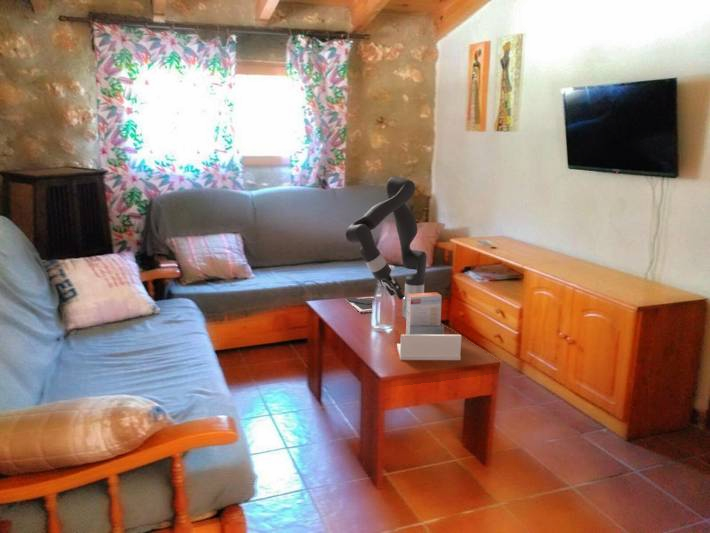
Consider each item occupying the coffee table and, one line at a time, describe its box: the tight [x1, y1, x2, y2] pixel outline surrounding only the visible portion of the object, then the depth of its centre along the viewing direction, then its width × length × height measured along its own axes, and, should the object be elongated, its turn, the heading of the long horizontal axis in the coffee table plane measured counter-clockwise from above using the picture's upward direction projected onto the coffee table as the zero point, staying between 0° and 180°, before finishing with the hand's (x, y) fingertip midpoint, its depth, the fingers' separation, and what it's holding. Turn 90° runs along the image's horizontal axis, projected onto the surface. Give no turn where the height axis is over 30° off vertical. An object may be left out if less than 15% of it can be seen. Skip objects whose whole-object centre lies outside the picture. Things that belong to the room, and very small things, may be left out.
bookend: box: [410, 324, 445, 335], centre depth 244 cm, size 2×14×8 cm, turn 92°
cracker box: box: [405, 291, 443, 334], centre depth 252 cm, size 14×6×21 cm, turn 103°
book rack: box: [396, 333, 462, 361], centre depth 239 cm, size 14×24×10 cm, turn 92°
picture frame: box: [344, 296, 375, 313], centre depth 301 cm, size 16×3×21 cm
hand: (397, 296), depth 245 cm, fingers open, 8 cm apart
